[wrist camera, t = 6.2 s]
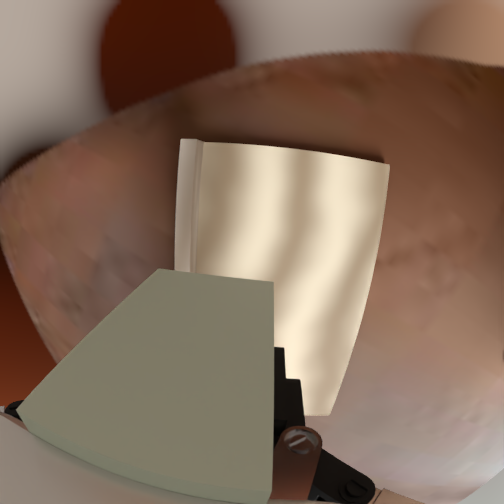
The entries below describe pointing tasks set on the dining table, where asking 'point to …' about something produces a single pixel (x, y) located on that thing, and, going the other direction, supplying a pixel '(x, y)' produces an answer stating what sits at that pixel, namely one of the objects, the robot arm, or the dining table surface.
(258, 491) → the green tin
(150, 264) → the dining table surface
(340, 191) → the shelf board
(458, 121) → the dining table surface
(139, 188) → the dining table surface
